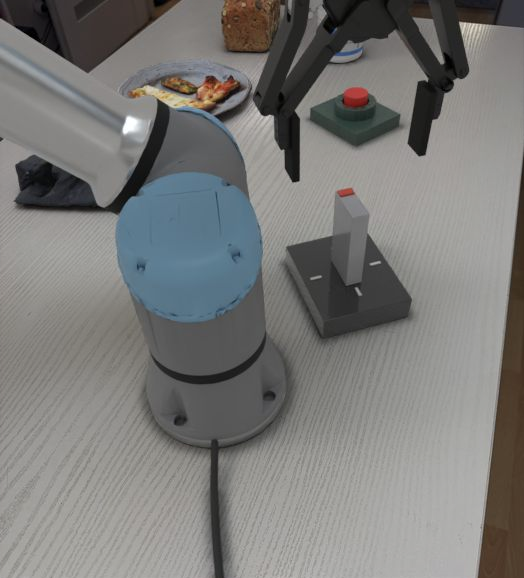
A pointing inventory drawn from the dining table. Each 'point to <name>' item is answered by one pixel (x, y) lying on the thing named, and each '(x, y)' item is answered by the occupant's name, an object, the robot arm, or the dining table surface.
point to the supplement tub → (349, 50)
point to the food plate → (190, 85)
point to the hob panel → (346, 288)
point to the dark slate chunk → (50, 185)
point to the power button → (355, 97)
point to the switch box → (355, 119)
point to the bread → (249, 24)
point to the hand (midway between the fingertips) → (355, 162)
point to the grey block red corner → (349, 236)
